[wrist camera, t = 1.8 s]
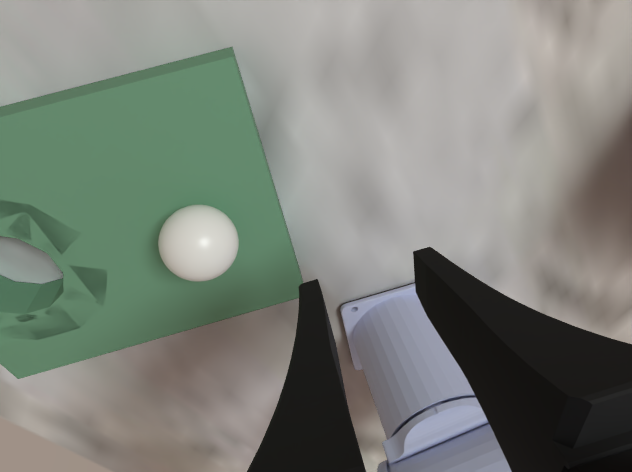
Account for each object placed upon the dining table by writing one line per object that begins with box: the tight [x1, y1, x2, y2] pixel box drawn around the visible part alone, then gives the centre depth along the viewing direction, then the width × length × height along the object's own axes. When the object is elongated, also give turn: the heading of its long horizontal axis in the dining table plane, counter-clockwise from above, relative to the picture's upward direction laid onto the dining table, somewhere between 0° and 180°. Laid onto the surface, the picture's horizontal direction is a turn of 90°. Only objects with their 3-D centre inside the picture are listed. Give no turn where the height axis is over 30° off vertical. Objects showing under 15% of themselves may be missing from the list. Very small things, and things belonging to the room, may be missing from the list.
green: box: [0, 47, 303, 379], centre depth 19 cm, size 18×14×5 cm
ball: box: [158, 205, 239, 282], centre depth 18 cm, size 4×4×4 cm
